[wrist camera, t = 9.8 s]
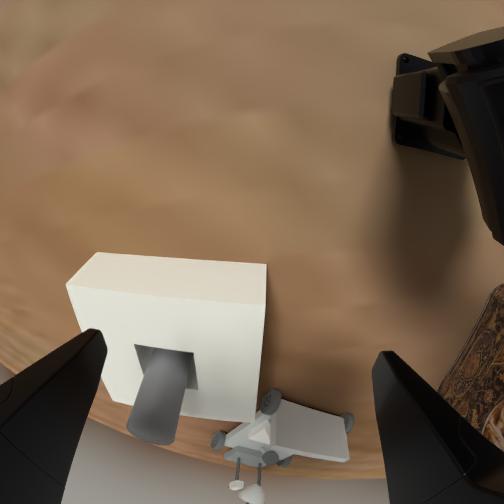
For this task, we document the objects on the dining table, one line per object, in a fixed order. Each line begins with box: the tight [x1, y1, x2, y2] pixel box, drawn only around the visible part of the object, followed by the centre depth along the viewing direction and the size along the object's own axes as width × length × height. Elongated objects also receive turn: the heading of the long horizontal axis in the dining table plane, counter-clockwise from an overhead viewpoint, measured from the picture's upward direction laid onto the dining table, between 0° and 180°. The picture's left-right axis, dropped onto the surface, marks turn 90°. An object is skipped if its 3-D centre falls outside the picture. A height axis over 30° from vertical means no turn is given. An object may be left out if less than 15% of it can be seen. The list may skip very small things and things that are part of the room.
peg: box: [127, 347, 194, 445], centre depth 20 cm, size 3×3×10 cm
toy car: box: [211, 388, 354, 504], centre depth 29 cm, size 18×10×12 cm
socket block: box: [66, 252, 267, 423], centre depth 23 cm, size 14×14×5 cm
